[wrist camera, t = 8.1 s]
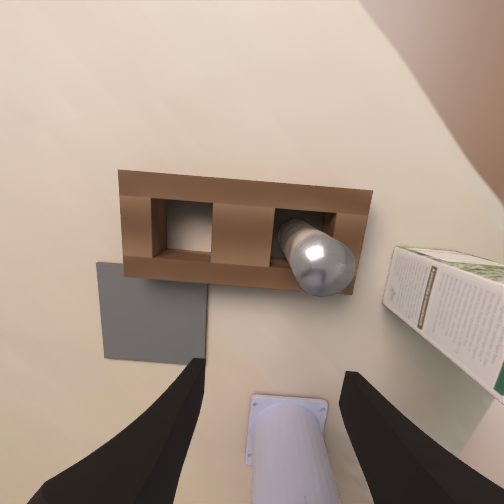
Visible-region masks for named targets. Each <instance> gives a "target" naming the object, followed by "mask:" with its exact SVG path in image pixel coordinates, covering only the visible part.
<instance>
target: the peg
mask: <svg viewBox="0 0 504 504" xmlns="http://www.w3.org/2000/svg"><path fill="white" fill-rule="evenodd" d="M278 241H279V244H280V246H281V248H282V250H283V252H284V254H285V256H286V258H287V260H288V263H289V265H290V267H291V269H292V271H293V273H294V275H295V277H296V279H297V281H298V283H299V285H300V286H301V287H302V288H303V289H304V290H305V291H306V292H308V293H310V294H312V295H315V296H321V297H325V296H331V295H334V294H337V293H339V292H341V291H342V290H343V289H345V288H346V287H347V286H348V285H349V283H350V282H351V280H352V278H353V276H354V273H355V259H354V256H353V254H352V252H351V251H350V249H349V248H348V247H347V246H346V245H344V244H343V243H341V242H339V241H337V240H336V239H334V238H332V237H330V236H329V235H327V234H325V233H323V232H322V231H320V230H318V229H317V228H315V227H313V226H311V225H310V224H308V223H306V222H304V221H302V220H298V219H294V220H290V221H287V222H286V223H284V224H283V225H282V227H281V228H280V230H279V233H278Z"/></svg>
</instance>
